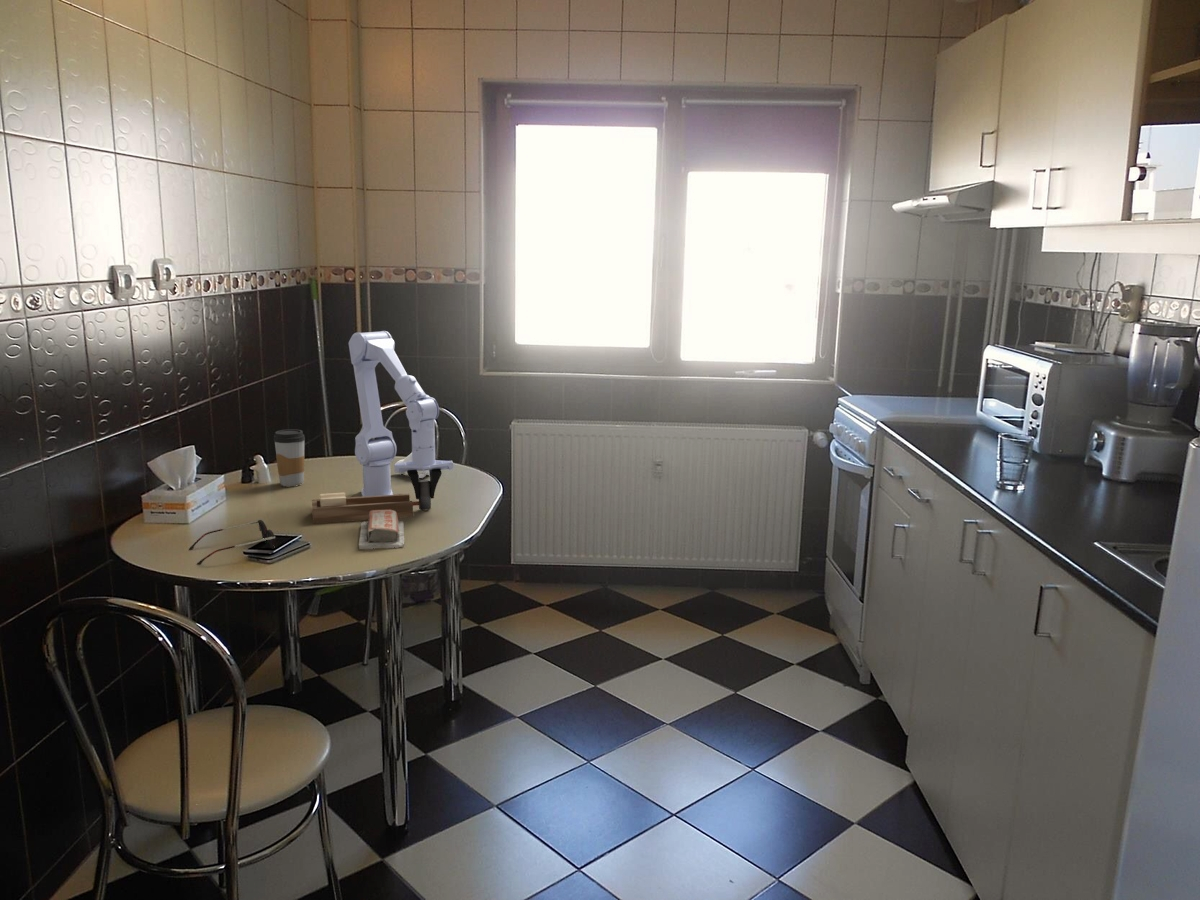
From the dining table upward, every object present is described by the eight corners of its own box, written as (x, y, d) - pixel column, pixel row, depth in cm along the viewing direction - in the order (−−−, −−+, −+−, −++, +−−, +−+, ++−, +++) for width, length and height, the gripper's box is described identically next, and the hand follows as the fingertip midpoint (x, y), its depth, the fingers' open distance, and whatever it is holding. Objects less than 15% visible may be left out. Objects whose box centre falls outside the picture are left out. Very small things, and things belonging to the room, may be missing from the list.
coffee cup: (313, 483, 254) (311, 431, 251) (289, 489, 247) (286, 436, 244) (294, 478, 259) (291, 427, 255) (269, 484, 252) (266, 432, 249)
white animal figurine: (425, 451, 258) (388, 451, 262) (428, 479, 260) (391, 479, 263) (435, 446, 264) (399, 447, 268) (438, 475, 266) (402, 475, 269)
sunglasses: (277, 555, 196) (274, 534, 195) (198, 572, 188) (195, 550, 187) (263, 538, 207) (260, 517, 206) (188, 553, 199) (184, 532, 198)
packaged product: (360, 508, 216) (403, 506, 218) (361, 527, 217) (403, 526, 219) (357, 531, 199) (404, 529, 201) (358, 552, 200) (404, 549, 202)
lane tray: (312, 512, 227) (311, 498, 226) (408, 505, 234) (408, 492, 234) (313, 523, 218) (312, 509, 217) (413, 516, 225) (413, 503, 224)
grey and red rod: (320, 512, 225) (319, 485, 224) (429, 505, 233) (428, 478, 232) (321, 518, 220) (319, 490, 219) (432, 510, 229) (431, 483, 227)
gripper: (395, 450, 221) (397, 504, 224) (454, 447, 226) (455, 500, 229) (393, 444, 228) (394, 496, 231) (450, 442, 232) (451, 493, 235)
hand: (424, 497), depth 230 cm, fingers closed on grey and red rod, 3 cm apart
